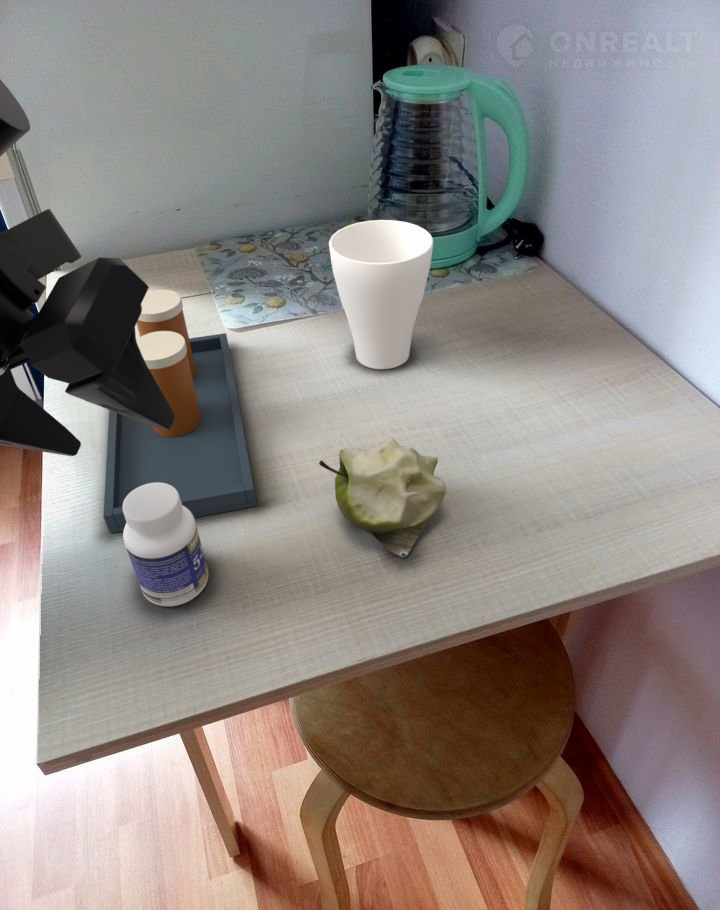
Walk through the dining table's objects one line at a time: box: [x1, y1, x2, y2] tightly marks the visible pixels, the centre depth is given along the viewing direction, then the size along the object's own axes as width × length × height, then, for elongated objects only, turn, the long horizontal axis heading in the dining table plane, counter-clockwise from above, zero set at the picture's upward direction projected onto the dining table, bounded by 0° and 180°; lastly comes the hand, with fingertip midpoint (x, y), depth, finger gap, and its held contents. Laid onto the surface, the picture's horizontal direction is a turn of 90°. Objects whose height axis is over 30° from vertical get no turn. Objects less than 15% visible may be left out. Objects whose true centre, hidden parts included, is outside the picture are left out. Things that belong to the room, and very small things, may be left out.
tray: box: [102, 332, 258, 534], centre depth 70 cm, size 13×27×2 cm, turn 13°
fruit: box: [318, 436, 447, 559], centre depth 59 cm, size 9×9×8 cm
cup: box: [328, 219, 434, 370], centre depth 75 cm, size 10×10×14 cm
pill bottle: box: [122, 482, 209, 607], centre depth 53 cm, size 5×5×9 cm
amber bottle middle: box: [136, 331, 201, 437], centre depth 67 cm, size 5×5×9 cm
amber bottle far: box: [136, 289, 196, 379], centre depth 74 cm, size 5×5×9 cm
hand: (121, 437), depth 45 cm, fingers open, 9 cm apart
